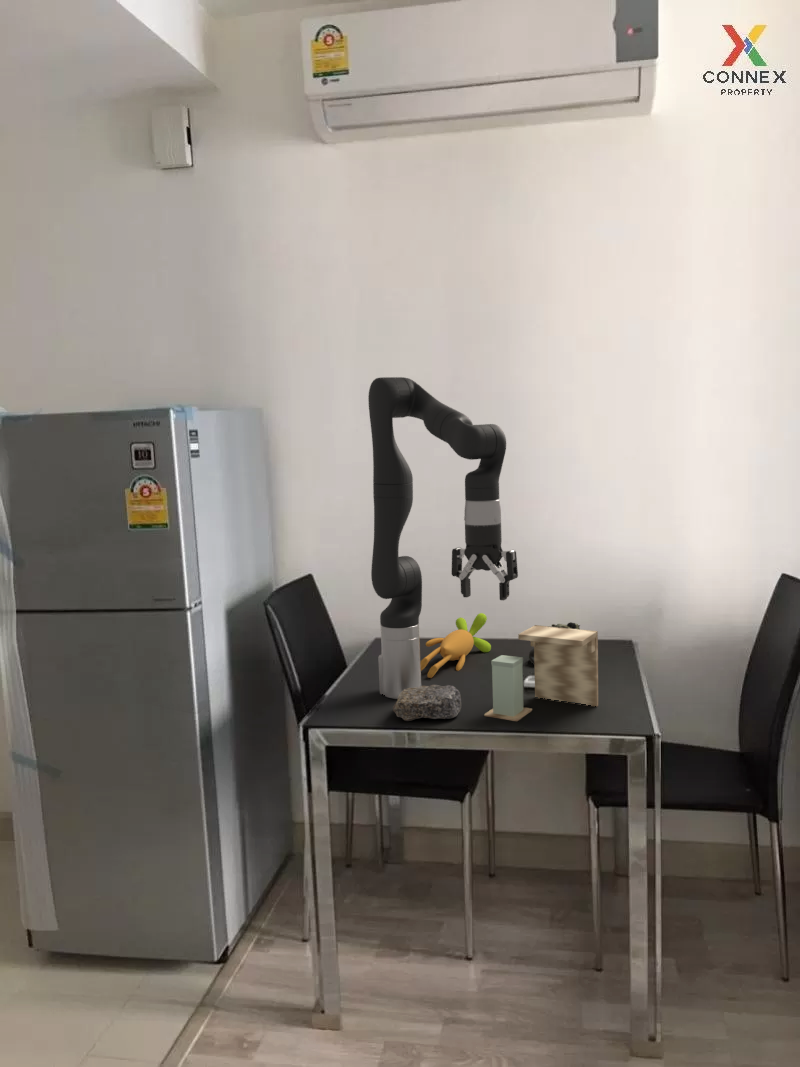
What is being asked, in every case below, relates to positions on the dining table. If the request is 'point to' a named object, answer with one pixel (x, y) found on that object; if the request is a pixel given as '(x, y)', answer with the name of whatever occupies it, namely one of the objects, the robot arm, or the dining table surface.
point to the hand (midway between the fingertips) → (484, 598)
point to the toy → (457, 644)
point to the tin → (507, 685)
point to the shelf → (564, 663)
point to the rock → (428, 702)
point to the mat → (515, 718)
